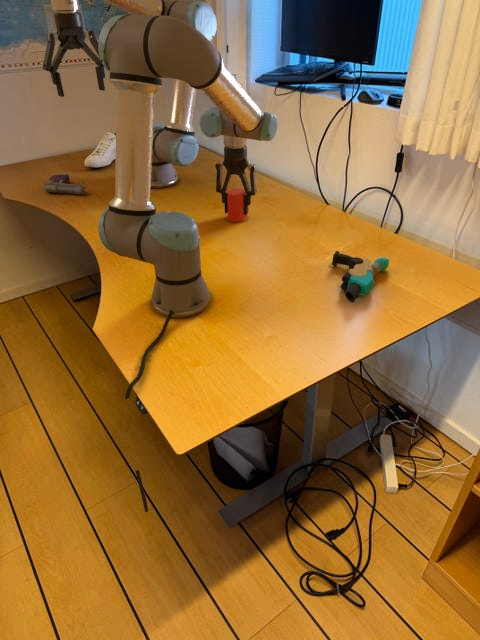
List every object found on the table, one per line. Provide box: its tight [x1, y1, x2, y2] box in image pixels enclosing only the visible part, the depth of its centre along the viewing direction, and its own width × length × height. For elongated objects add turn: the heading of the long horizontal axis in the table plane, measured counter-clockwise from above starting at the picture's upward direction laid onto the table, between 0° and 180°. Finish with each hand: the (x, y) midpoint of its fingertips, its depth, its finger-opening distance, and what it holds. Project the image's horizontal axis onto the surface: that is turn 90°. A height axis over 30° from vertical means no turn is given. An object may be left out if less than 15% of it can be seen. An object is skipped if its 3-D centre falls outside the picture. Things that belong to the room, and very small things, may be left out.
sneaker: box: [83, 131, 116, 169], centre depth 218 cm, size 10×29×12 cm, turn 163°
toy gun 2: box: [331, 250, 390, 303], centre depth 132 cm, size 4×26×15 cm
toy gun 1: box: [42, 173, 87, 195], centre depth 192 cm, size 4×19×15 cm
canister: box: [226, 188, 247, 223], centre depth 166 cm, size 6×6×10 cm
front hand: (236, 212), depth 167 cm, fingers closed on canister, 6 cm apart
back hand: (82, 93), depth 148 cm, fingers open, 13 cm apart
